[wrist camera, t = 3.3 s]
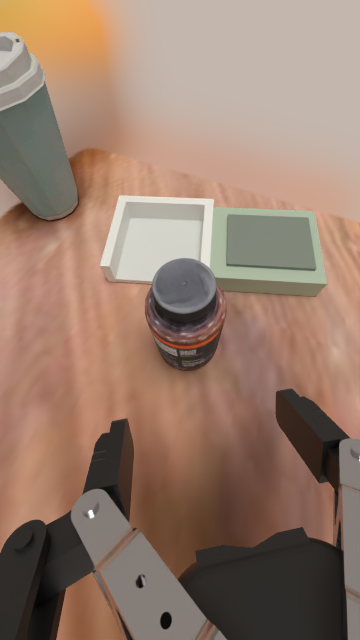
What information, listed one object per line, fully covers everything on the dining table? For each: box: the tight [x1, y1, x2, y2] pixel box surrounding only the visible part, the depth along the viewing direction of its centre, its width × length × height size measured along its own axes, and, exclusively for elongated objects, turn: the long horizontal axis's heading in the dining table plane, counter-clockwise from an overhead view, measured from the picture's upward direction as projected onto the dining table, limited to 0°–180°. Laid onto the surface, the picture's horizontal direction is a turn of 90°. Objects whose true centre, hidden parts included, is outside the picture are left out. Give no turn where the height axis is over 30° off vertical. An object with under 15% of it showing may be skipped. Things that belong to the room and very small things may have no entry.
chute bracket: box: [100, 196, 214, 284], centre depth 29 cm, size 12×10×3 cm
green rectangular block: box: [210, 207, 327, 296], centre depth 28 cm, size 12×10×3 cm
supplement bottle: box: [145, 258, 227, 370], centre depth 20 cm, size 6×6×11 cm
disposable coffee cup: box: [0, 32, 78, 220], centre depth 27 cm, size 11×11×15 cm
